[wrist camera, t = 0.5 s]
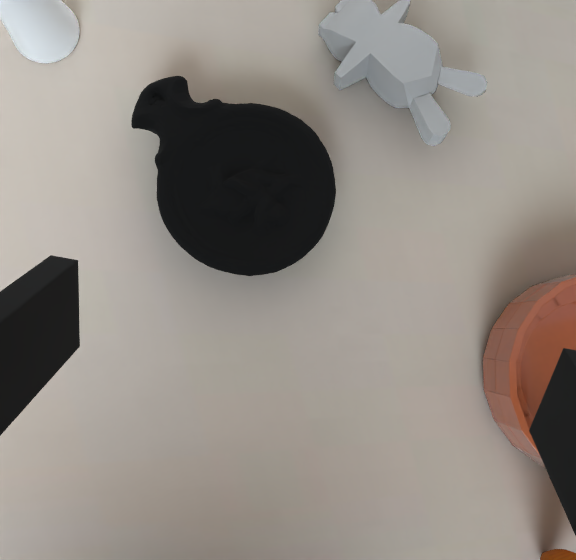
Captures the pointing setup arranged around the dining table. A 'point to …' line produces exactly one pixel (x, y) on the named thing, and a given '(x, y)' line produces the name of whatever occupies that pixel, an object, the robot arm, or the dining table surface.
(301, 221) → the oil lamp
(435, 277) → the dining table surface
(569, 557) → the carrot
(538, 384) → the bowl
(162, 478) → the dining table surface
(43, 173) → the dining table surface
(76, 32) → the cosmetic bottle
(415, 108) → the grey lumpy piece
